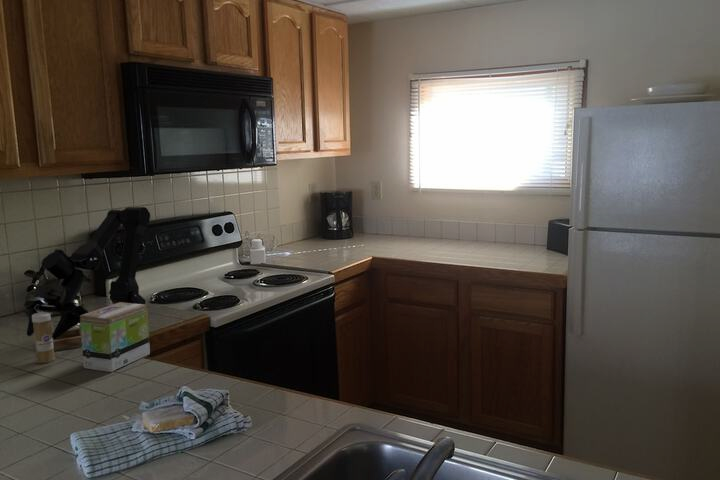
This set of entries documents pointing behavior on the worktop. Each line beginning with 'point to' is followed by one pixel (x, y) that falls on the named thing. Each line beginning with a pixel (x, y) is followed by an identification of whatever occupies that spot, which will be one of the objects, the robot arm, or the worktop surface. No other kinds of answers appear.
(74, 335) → the square wooden tray
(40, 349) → the sprinkles bottle
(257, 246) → the medicine bottle
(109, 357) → the tea box
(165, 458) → the worktop surface
